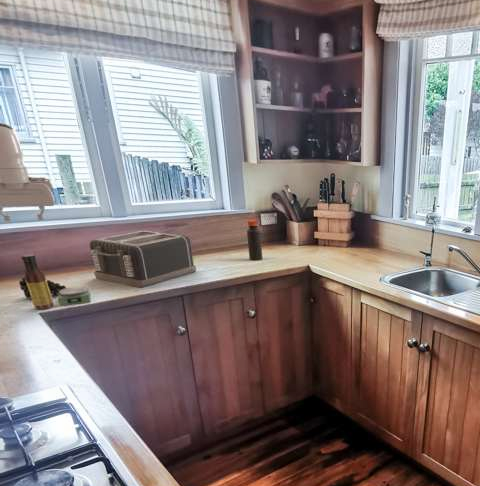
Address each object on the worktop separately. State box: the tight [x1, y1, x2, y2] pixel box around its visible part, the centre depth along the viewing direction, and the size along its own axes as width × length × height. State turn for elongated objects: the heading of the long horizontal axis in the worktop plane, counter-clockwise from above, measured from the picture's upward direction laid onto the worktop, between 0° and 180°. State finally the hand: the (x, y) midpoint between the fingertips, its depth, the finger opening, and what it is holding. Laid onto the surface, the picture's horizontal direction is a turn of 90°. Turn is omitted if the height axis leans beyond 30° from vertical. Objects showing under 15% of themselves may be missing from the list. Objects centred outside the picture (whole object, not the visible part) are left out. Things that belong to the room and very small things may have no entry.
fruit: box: [18, 276, 67, 299], centre depth 184 cm, size 9×8×15 cm
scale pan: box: [59, 286, 88, 296], centre depth 181 cm, size 9×9×1 cm
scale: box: [57, 287, 92, 306], centre depth 181 cm, size 10×11×3 cm
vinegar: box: [246, 219, 263, 261], centre depth 245 cm, size 7×7×20 cm
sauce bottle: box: [20, 253, 55, 310], centre depth 170 cm, size 6×6×20 cm
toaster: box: [89, 230, 197, 289], centre depth 211 cm, size 30×36×17 cm
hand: (24, 220), depth 159 cm, fingers open, 8 cm apart
